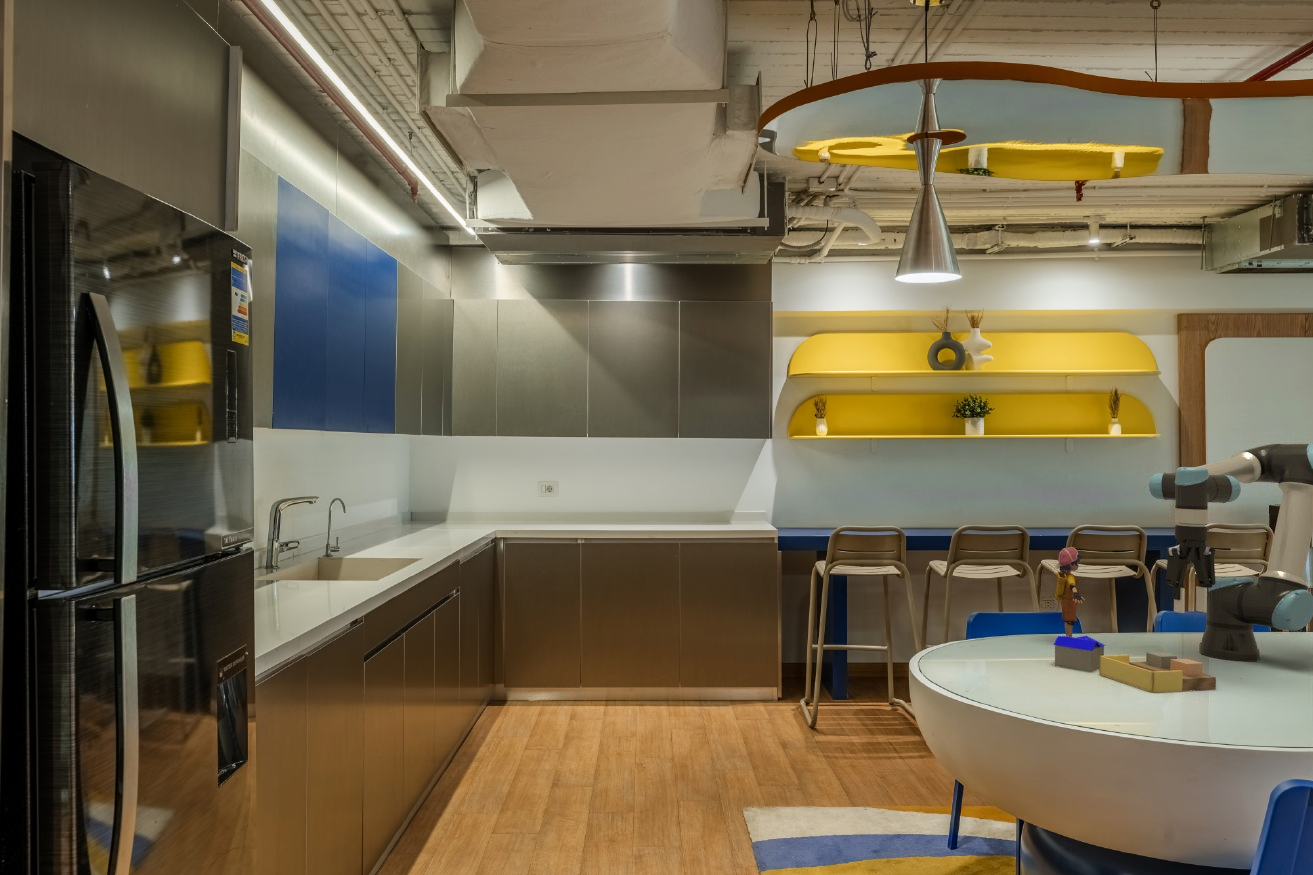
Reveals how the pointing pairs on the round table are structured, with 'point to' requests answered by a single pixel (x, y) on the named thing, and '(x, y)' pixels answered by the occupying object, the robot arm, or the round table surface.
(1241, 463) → the robot arm
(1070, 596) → the toy
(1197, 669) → the peach block
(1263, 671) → the round table surface
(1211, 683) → the walnut board
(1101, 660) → the yellow tray
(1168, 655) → the grey square block
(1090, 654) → the house
